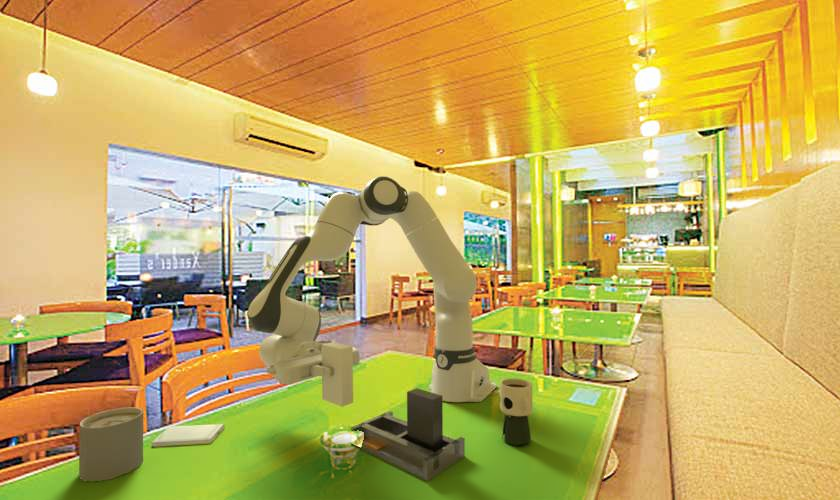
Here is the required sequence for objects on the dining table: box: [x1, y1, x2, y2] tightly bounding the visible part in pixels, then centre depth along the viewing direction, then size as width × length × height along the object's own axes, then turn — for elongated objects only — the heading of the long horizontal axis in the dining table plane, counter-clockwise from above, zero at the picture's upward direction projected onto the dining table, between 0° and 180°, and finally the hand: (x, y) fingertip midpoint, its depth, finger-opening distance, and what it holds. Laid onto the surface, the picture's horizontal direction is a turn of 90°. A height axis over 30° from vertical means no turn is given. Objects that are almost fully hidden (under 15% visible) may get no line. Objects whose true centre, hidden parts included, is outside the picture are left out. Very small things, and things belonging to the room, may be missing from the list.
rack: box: [350, 387, 466, 482], centre depth 84 cm, size 12×22×13 cm, turn 49°
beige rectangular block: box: [321, 342, 354, 408], centre depth 85 cm, size 3×7×12 cm, turn 49°
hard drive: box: [150, 423, 226, 448], centre depth 91 cm, size 2×8×12 cm
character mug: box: [499, 377, 534, 446], centre depth 88 cm, size 11×7×13 cm, turn 14°
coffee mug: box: [78, 406, 144, 482], centre depth 79 cm, size 13×10×10 cm
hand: (339, 370), depth 85 cm, fingers closed on beige rectangular block, 3 cm apart
